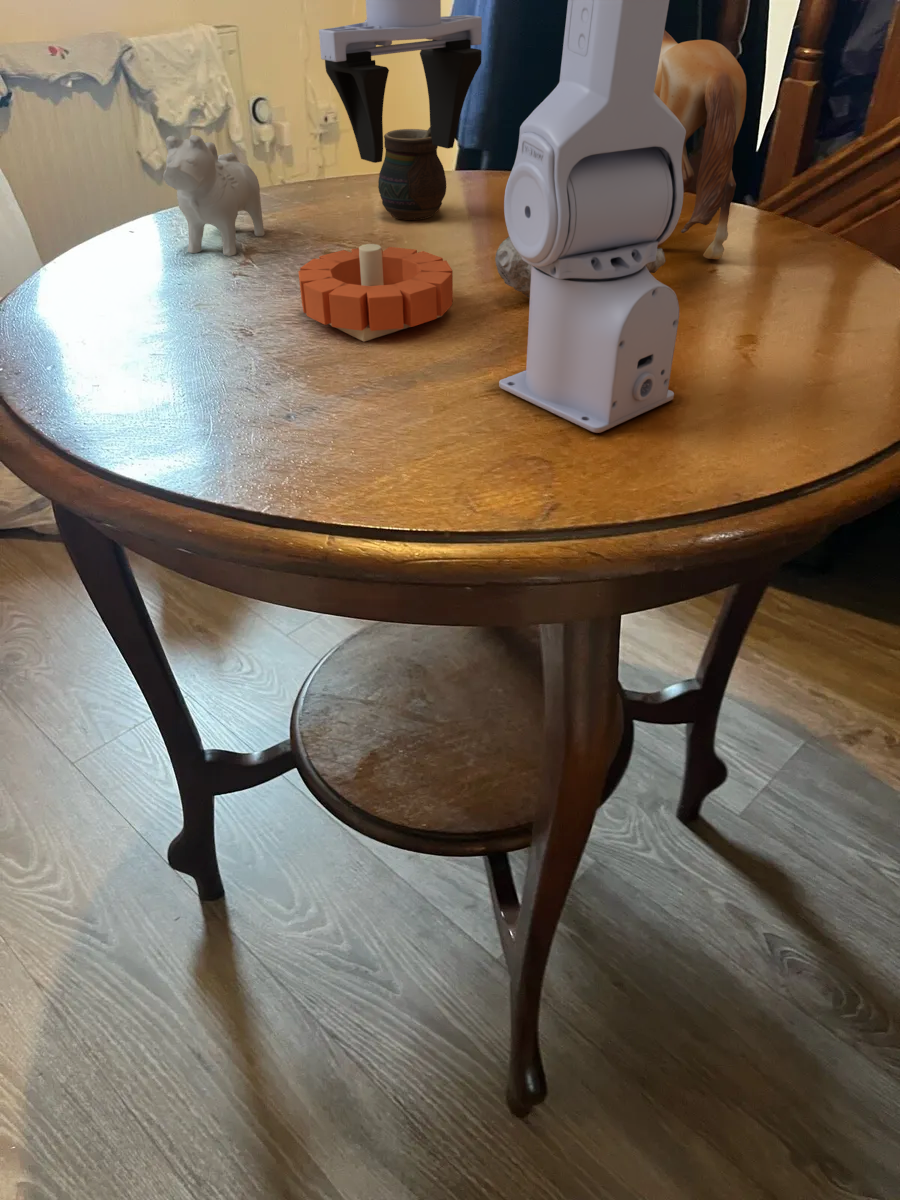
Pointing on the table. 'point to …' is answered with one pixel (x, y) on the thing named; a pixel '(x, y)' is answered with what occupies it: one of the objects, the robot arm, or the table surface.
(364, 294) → the ring
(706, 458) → the table surface
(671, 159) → the robot arm
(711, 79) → the horse figurine
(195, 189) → the dog figurine
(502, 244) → the seashell
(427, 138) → the mate gourd
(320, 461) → the table surface
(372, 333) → the stand
